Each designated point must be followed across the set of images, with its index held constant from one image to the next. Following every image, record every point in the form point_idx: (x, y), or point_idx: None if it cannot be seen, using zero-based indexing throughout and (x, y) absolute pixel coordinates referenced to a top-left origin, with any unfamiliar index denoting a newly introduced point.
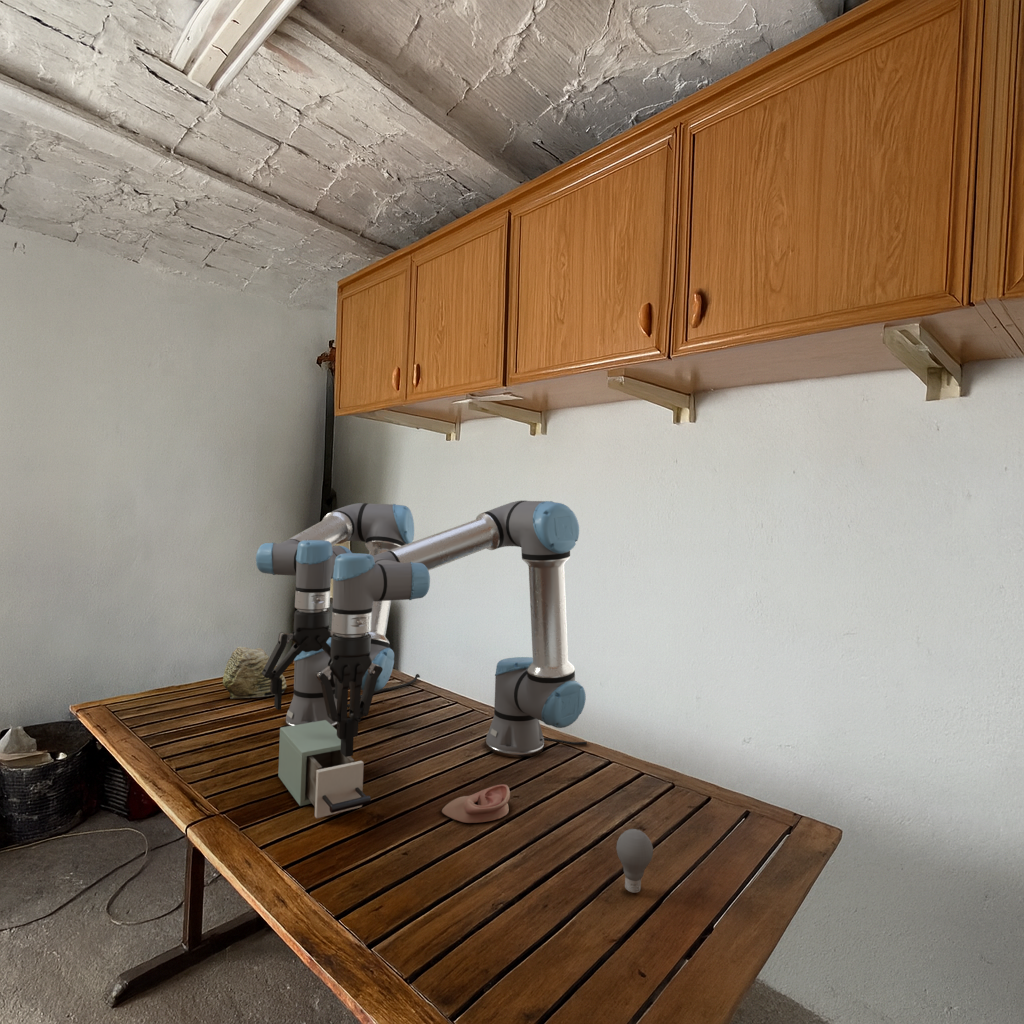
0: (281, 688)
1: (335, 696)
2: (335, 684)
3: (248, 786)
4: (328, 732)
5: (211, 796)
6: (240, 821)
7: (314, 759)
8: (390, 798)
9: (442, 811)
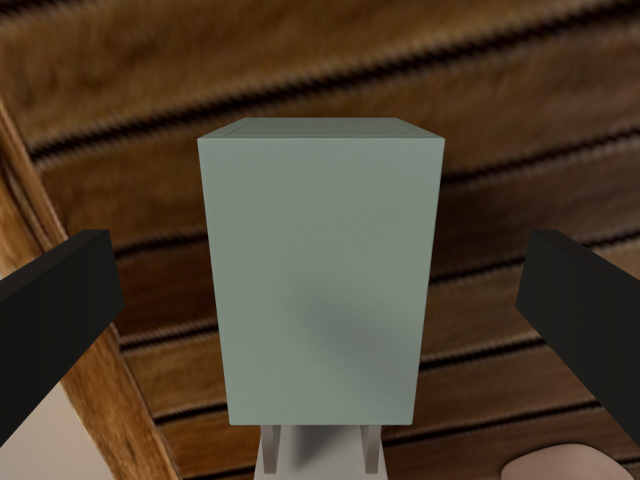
0: (21, 418)
1: (533, 252)
2: (596, 287)
3: (150, 143)
4: (383, 301)
5: (47, 157)
6: (122, 319)
7: (270, 427)
8: (454, 374)
9: (504, 470)
